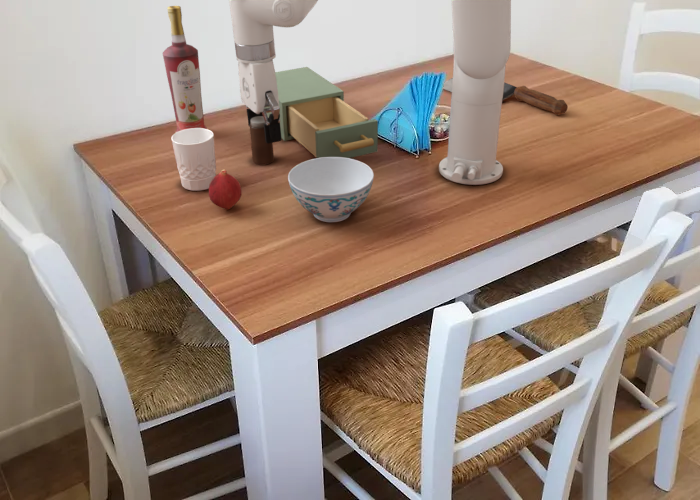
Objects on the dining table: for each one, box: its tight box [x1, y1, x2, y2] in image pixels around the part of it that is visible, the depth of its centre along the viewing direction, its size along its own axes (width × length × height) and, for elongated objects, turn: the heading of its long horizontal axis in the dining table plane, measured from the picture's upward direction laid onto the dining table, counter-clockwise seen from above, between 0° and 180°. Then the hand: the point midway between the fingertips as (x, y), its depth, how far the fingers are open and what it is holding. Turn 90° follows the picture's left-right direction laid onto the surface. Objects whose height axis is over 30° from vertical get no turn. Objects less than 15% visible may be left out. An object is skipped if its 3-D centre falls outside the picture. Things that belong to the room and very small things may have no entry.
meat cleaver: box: [442, 77, 568, 116], centre depth 175 cm, size 34×11×4 cm, turn 36°
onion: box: [208, 169, 242, 211], centre depth 128 cm, size 6×6×8 cm
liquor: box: [162, 5, 208, 133], centre depth 152 cm, size 7×7×28 cm
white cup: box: [170, 128, 217, 192], centre depth 137 cm, size 8×8×10 cm
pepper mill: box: [248, 116, 275, 166], centre depth 146 cm, size 4×4×9 cm
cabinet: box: [264, 66, 345, 142], centre depth 164 cm, size 20×15×9 cm
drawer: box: [286, 96, 379, 159], centre depth 150 cm, size 23×14×7 cm, turn 27°
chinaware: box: [287, 157, 375, 223], centre depth 126 cm, size 15×15×8 cm
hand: (264, 133), depth 145 cm, fingers open, 9 cm apart
